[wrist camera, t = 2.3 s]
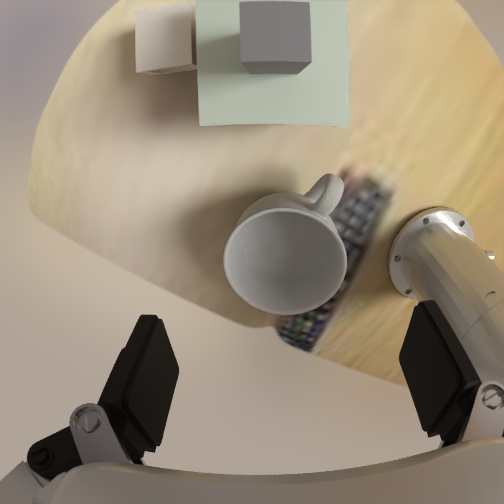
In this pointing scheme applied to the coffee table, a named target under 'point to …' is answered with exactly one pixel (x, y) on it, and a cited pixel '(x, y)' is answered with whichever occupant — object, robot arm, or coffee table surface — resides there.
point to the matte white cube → (166, 39)
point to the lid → (273, 62)
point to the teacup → (288, 250)
